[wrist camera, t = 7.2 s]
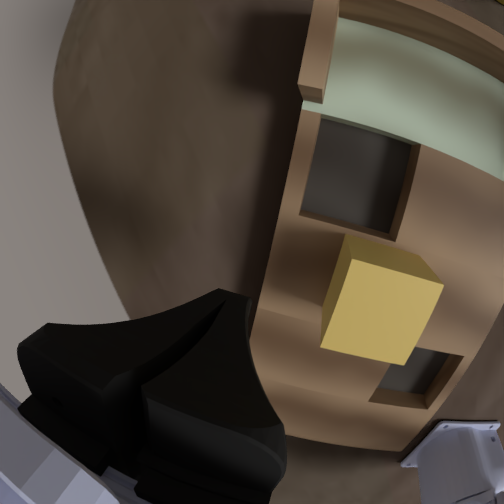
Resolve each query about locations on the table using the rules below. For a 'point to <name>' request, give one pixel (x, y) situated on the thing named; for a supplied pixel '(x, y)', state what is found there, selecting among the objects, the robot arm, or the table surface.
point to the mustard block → (378, 301)
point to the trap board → (386, 211)
